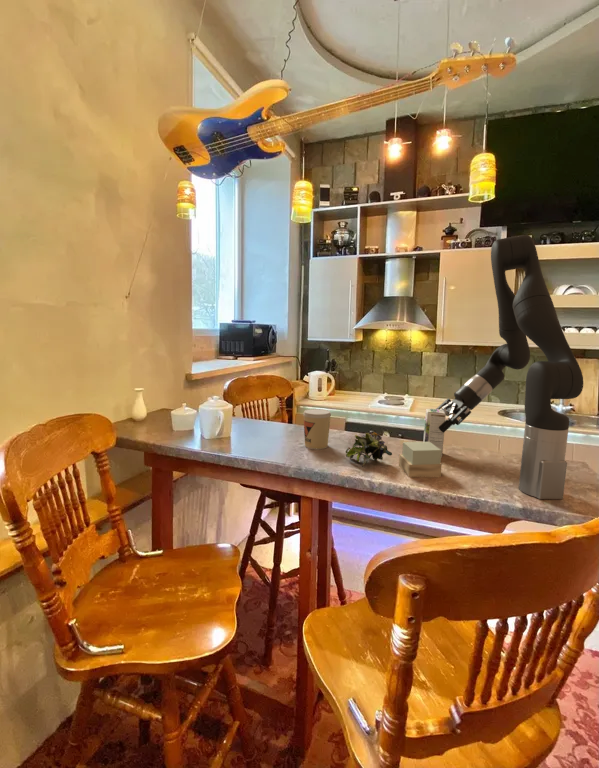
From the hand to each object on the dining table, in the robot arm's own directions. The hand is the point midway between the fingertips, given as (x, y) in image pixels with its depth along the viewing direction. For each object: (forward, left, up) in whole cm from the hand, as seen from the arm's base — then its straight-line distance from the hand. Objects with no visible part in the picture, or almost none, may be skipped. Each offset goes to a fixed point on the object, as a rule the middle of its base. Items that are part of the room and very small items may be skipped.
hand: (435, 426), depth 131 cm
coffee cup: (+9, +37, -9) cm, 40 cm away
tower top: (-16, +10, -6) cm, 20 cm away
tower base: (-15, +10, -10) cm, 21 cm away
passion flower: (-8, +24, -9) cm, 27 cm away
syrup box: (0, 0, -9) cm, 9 cm away
